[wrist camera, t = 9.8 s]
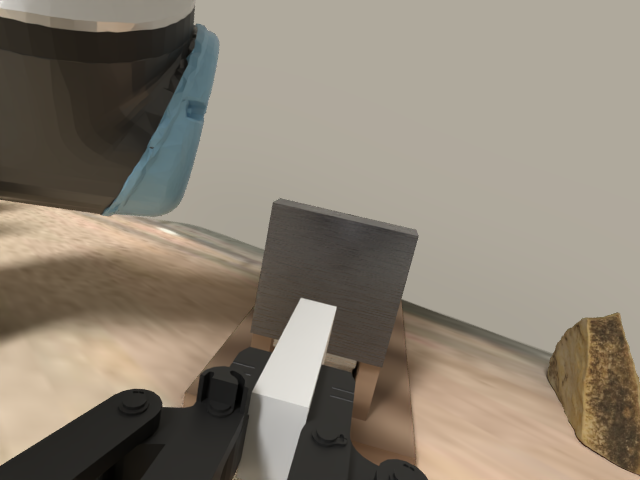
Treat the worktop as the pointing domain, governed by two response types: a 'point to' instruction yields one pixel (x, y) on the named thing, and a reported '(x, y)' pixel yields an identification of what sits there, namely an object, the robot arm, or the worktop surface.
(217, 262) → the worktop surface
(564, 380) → the rock
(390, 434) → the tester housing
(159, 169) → the robot arm
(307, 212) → the push plunger
